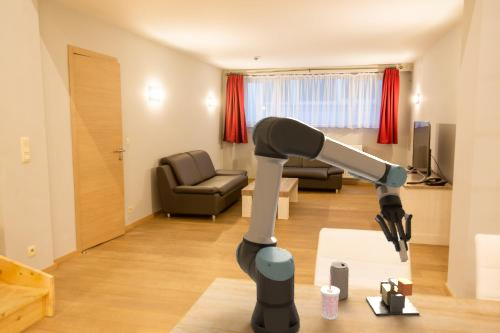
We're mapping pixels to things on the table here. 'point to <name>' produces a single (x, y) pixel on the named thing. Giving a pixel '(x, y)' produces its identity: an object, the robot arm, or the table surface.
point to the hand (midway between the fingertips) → (404, 260)
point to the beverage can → (340, 278)
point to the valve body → (391, 302)
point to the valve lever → (402, 286)
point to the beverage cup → (330, 301)
